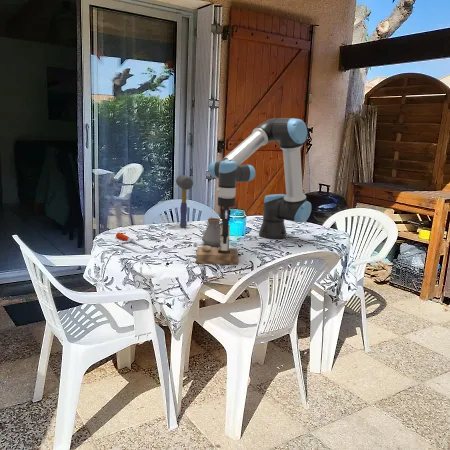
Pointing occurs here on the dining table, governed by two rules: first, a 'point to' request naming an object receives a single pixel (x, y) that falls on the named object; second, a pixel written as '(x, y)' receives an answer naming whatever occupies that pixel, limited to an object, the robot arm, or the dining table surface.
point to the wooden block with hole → (216, 256)
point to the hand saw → (127, 240)
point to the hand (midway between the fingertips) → (224, 248)
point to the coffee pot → (212, 232)
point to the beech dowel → (221, 236)
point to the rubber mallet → (184, 196)
